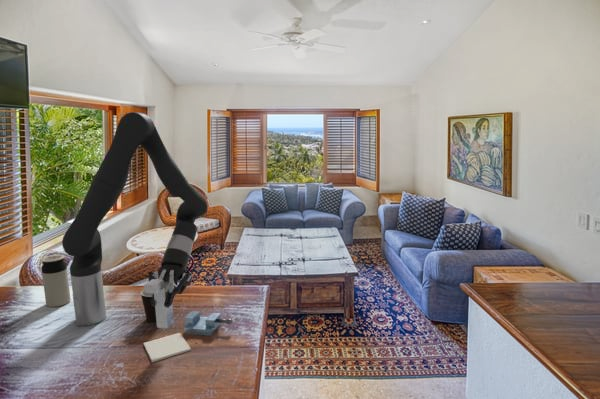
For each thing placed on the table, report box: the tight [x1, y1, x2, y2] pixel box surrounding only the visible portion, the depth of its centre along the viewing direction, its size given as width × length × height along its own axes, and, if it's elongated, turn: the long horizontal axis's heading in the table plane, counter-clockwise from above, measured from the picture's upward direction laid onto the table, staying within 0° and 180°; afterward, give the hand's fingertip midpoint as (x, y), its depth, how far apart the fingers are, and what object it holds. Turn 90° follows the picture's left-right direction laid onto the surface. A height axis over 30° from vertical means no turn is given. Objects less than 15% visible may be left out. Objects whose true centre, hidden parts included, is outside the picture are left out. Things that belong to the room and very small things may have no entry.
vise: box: [183, 310, 233, 337], centre depth 129 cm, size 8×15×4 cm, turn 78°
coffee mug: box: [140, 288, 157, 324], centre depth 137 cm, size 12×9×10 cm
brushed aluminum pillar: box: [144, 278, 175, 329], centre depth 114 cm, size 8×4×15 cm, turn 168°
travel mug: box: [40, 254, 72, 308], centre depth 148 cm, size 8×8×18 cm
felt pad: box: [143, 332, 192, 363], centre depth 118 cm, size 11×11×1 cm
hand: (160, 305), depth 114 cm, fingers closed on brushed aluminum pillar, 3 cm apart
